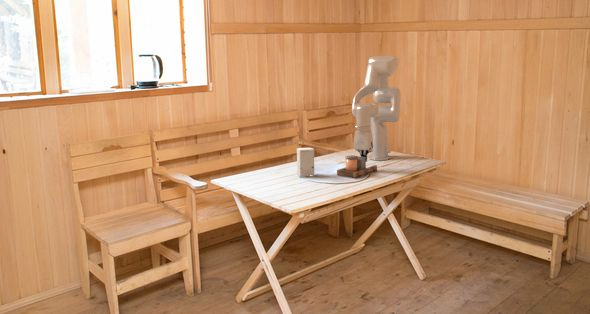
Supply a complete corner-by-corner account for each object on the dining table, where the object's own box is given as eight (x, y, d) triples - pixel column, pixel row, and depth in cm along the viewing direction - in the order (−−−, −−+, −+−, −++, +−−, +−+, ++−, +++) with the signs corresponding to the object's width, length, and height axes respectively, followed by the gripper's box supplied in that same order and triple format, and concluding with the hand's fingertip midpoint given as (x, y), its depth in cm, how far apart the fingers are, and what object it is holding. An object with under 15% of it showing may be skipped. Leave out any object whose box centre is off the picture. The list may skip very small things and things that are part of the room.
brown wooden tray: (358, 168, 313) (358, 162, 313) (376, 170, 305) (376, 165, 305) (337, 175, 299) (336, 170, 298) (355, 178, 291) (355, 173, 290)
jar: (349, 171, 303) (348, 155, 301) (359, 172, 299) (359, 155, 297) (343, 173, 297) (343, 157, 296) (354, 174, 294) (354, 157, 292)
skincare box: (300, 177, 297) (299, 150, 294) (296, 175, 303) (295, 148, 300) (315, 176, 300) (314, 148, 296) (311, 173, 305) (310, 146, 302)
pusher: (355, 168, 308) (355, 155, 306) (368, 170, 302) (368, 157, 301) (349, 170, 303) (348, 157, 302) (361, 172, 298) (361, 159, 296)
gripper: (348, 128, 304) (348, 161, 308) (371, 130, 294) (371, 164, 298) (356, 126, 309) (356, 159, 313) (379, 128, 300) (379, 162, 304)
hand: (364, 161), depth 306 cm, fingers closed
